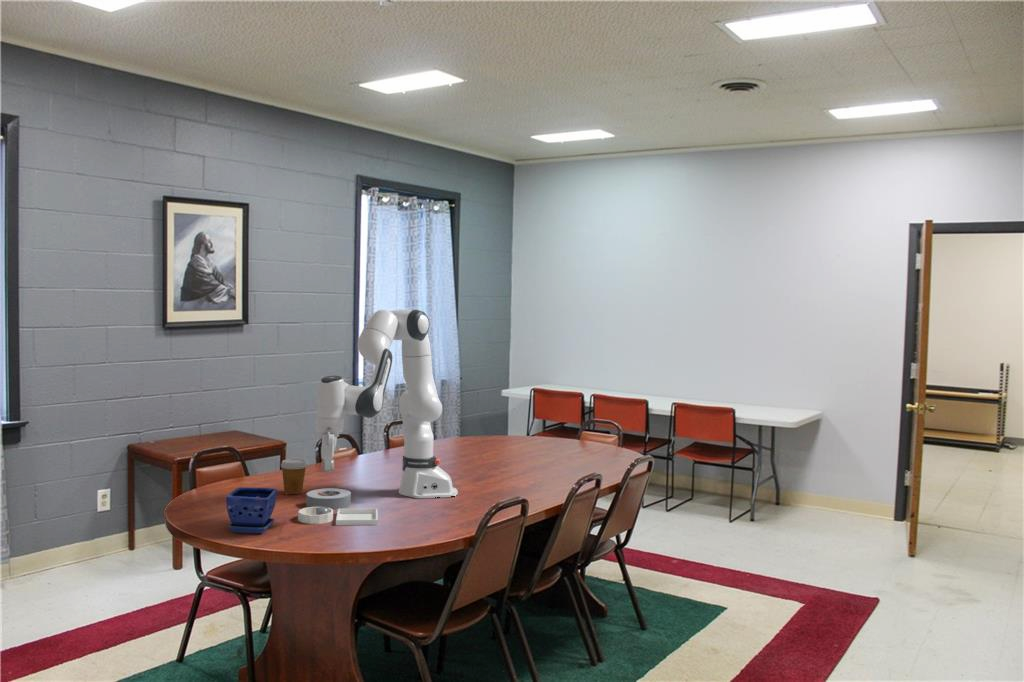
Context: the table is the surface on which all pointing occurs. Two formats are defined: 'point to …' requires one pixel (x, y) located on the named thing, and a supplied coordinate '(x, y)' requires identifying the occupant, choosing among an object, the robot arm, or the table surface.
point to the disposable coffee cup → (293, 475)
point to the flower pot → (251, 509)
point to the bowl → (314, 516)
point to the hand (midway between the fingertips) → (327, 467)
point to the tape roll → (329, 498)
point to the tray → (357, 516)
